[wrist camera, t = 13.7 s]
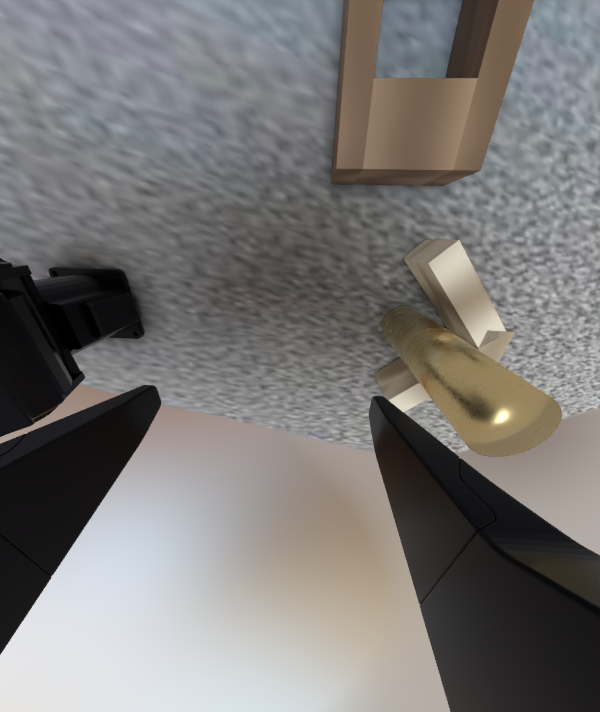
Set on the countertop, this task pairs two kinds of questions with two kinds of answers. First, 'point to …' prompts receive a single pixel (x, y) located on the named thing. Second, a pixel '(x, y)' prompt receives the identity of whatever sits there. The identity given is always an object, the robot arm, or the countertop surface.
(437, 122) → the bore block
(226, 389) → the countertop surface
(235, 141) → the countertop surface
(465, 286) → the v block
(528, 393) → the axle
